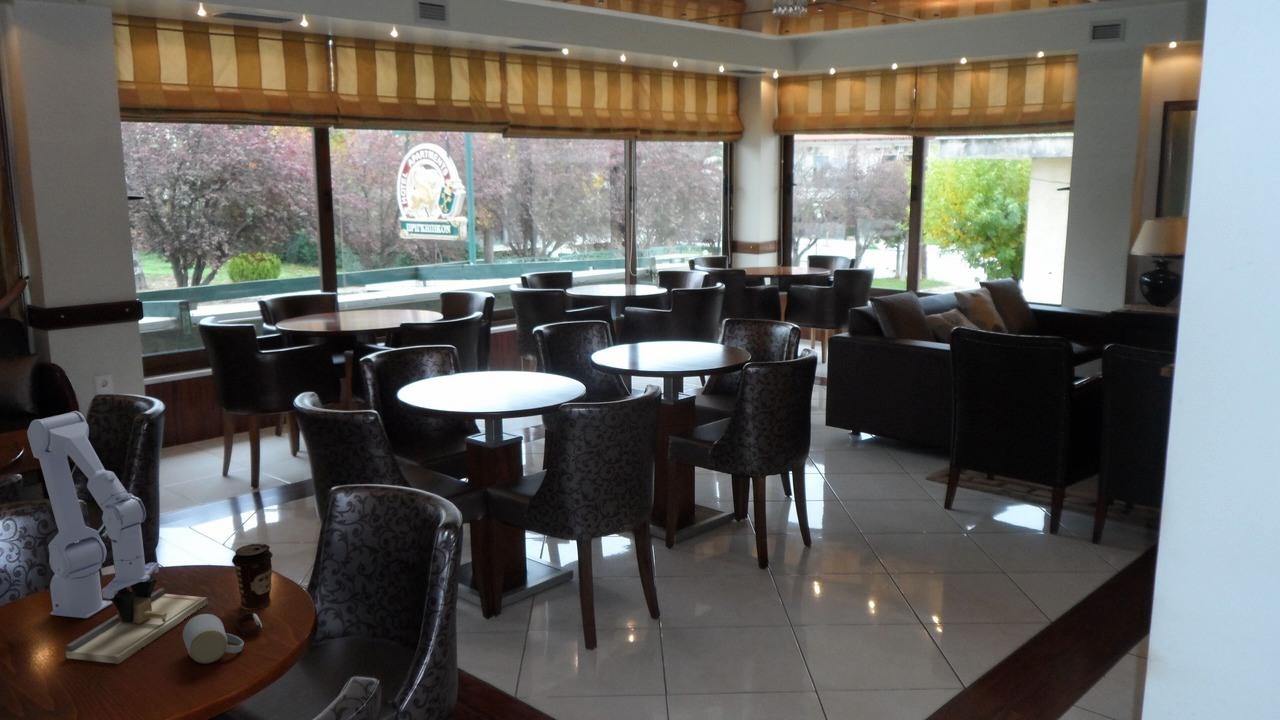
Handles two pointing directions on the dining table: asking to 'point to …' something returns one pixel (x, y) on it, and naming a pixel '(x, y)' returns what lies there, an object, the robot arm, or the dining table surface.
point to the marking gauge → (144, 611)
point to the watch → (249, 618)
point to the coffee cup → (254, 575)
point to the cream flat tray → (133, 630)
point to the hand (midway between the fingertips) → (135, 616)
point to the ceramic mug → (209, 639)
